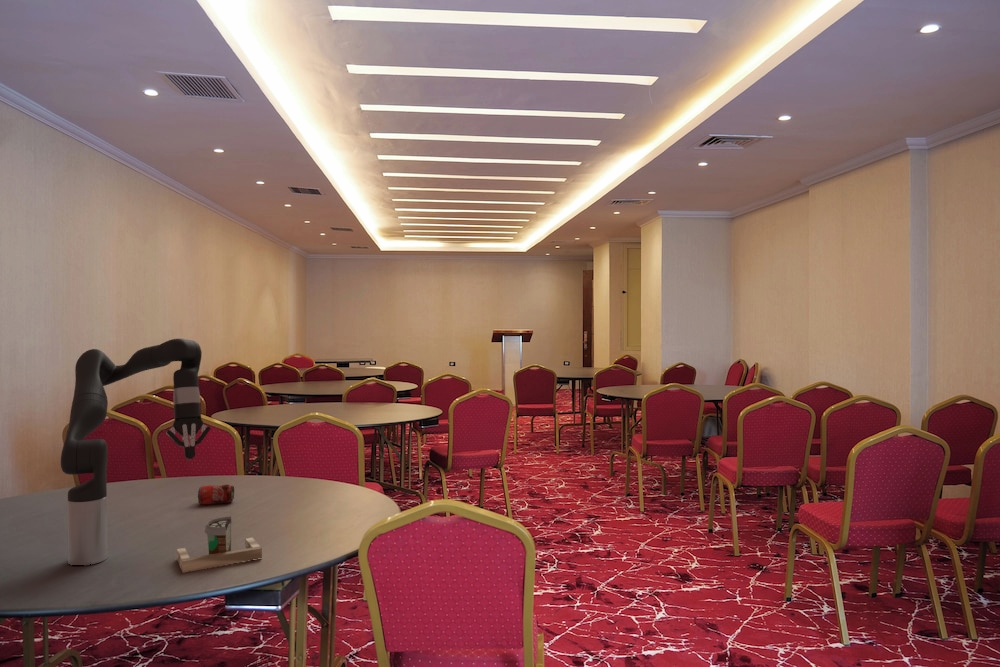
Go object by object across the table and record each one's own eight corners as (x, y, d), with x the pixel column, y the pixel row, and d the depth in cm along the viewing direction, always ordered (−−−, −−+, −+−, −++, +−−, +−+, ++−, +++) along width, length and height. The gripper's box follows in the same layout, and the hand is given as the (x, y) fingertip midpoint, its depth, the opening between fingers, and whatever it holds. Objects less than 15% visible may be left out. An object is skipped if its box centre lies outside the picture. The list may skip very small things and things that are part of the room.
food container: (208, 552, 197) (208, 517, 196) (231, 550, 198) (231, 515, 198) (201, 566, 185) (200, 529, 185) (225, 564, 186) (225, 527, 186)
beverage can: (232, 504, 251) (232, 486, 250) (197, 506, 248) (197, 488, 248) (236, 500, 258) (235, 482, 258) (201, 501, 255) (201, 483, 255)
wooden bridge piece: (177, 559, 190) (176, 548, 190) (252, 547, 201) (252, 537, 201) (182, 572, 180) (182, 561, 180) (261, 559, 190) (261, 548, 190)
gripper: (208, 402, 220) (211, 457, 217) (162, 405, 213) (164, 462, 210) (211, 399, 214) (215, 456, 211) (164, 403, 207) (167, 461, 204)
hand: (189, 459), depth 211 cm, fingers closed
